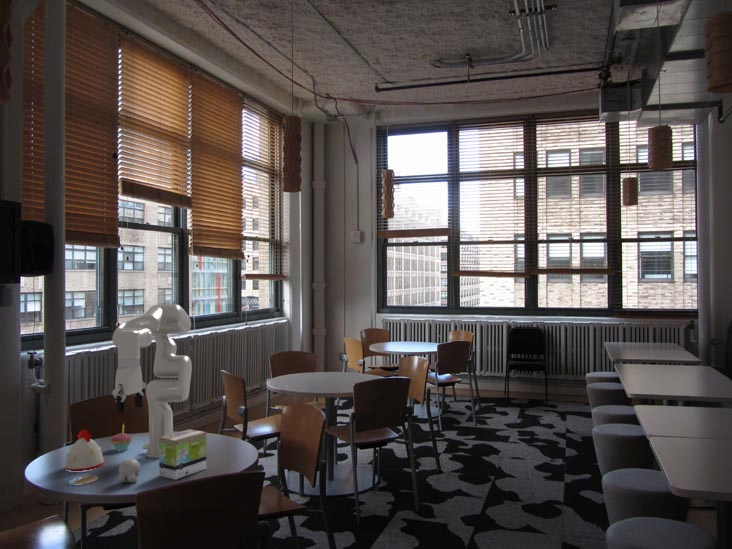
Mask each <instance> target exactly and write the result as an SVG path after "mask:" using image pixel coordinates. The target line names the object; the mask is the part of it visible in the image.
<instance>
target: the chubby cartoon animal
mask: <svg viewBox="0 0 732 549" xmlns="http://www.w3.org/2000/svg"><path fill="white" fill-rule="evenodd" d="M118 472H119V475H118V476H117V480H116V482H118V483H122V484H128V483H131V484H132V483H134V484H135V483H137V482H138V477H139V475H140V472H141V462H139V461H138V460H137V459H135V458H126V459H124V460H123V461H122V462H121V463H120V465H119V467H118Z"/></svg>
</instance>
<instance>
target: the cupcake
mask: <svg viewBox="0 0 732 549" xmlns="http://www.w3.org/2000/svg"><path fill="white" fill-rule="evenodd" d="M131 442H132V436H131V435H130V434H129V433H125V423H123V424H122V429H121V433H118V434H115V435H113V436H112V437H111V438H110V443H111V444H112V445H113V446H114V448H115V451H116V450H120V451H119V452H122V451H121V450H125V451H127V450H128V449H129V446H130V443H131ZM126 449H127V450H126Z"/></svg>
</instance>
